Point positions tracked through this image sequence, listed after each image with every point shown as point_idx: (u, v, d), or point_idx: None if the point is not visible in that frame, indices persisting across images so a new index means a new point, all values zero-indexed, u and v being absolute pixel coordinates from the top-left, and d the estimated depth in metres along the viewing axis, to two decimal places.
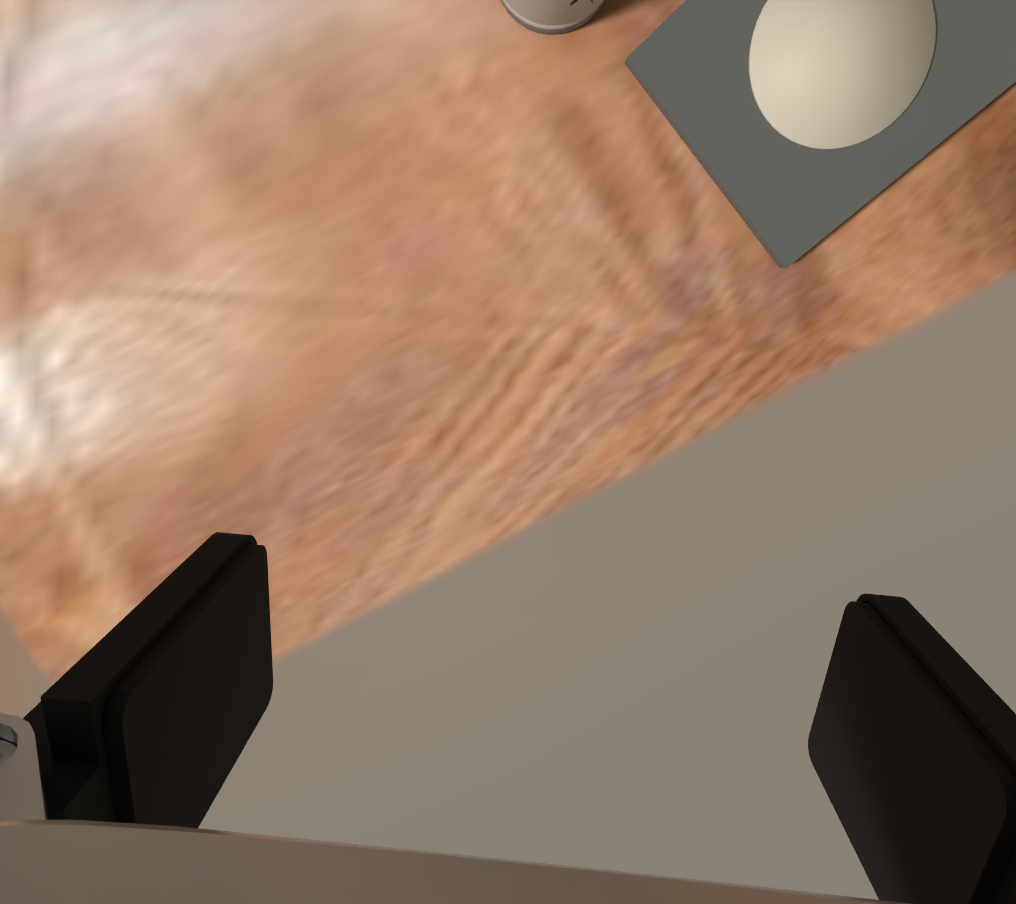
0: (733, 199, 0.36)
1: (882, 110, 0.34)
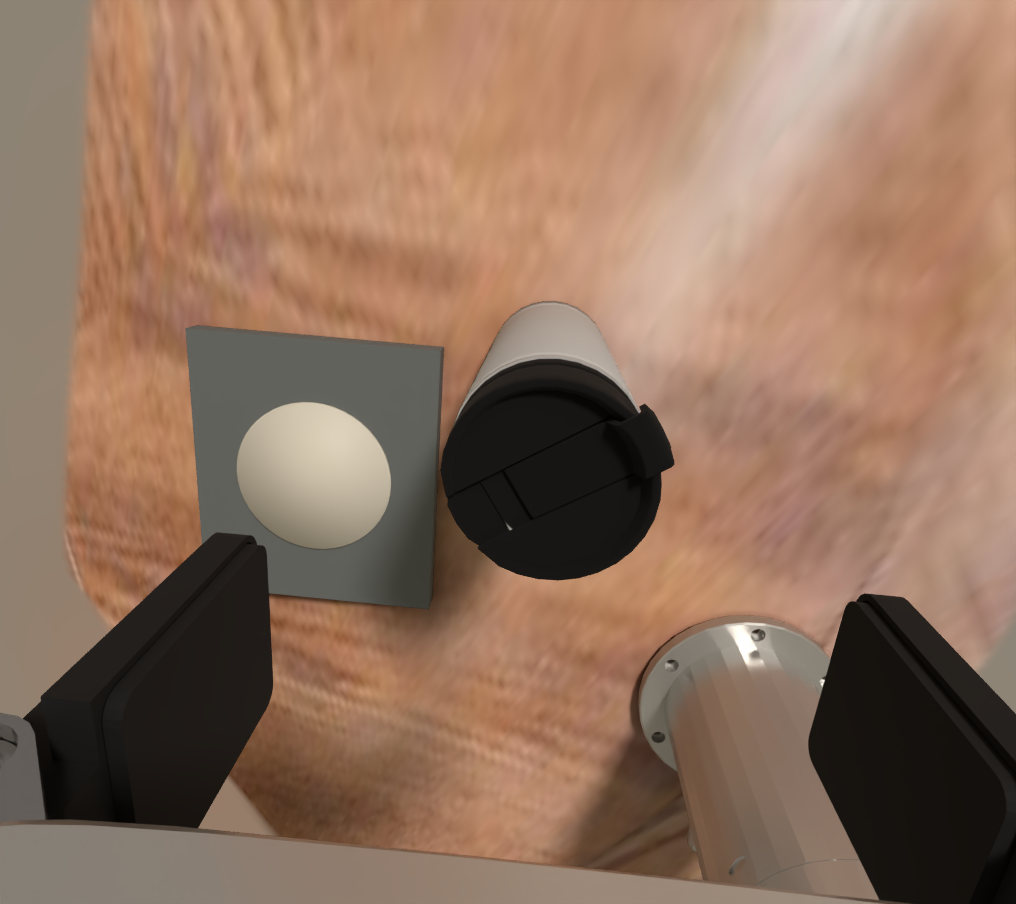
0: (274, 335, 0.36)
1: (252, 472, 0.39)
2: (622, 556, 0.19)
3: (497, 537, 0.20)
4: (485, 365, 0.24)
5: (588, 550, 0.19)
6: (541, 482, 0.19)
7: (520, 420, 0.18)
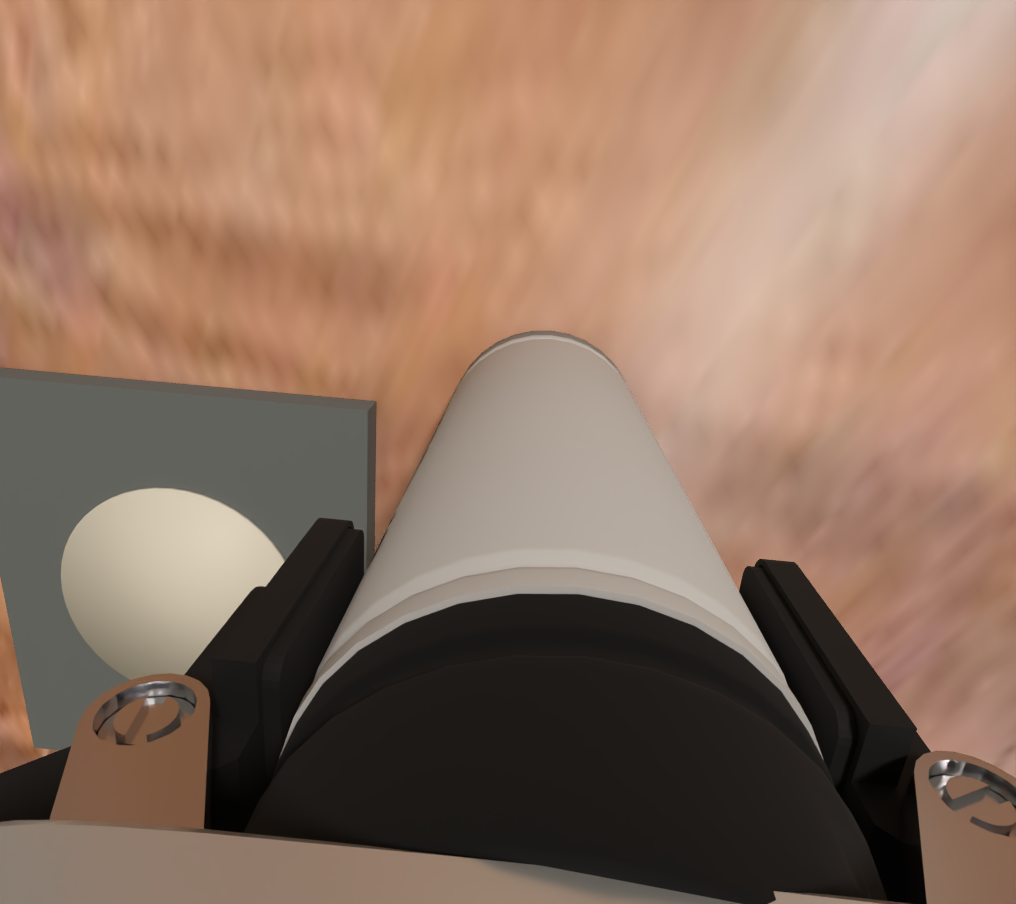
0: (102, 385, 0.23)
1: (86, 590, 0.25)
2: None
3: None
4: (400, 518, 0.11)
5: None
6: None
7: None
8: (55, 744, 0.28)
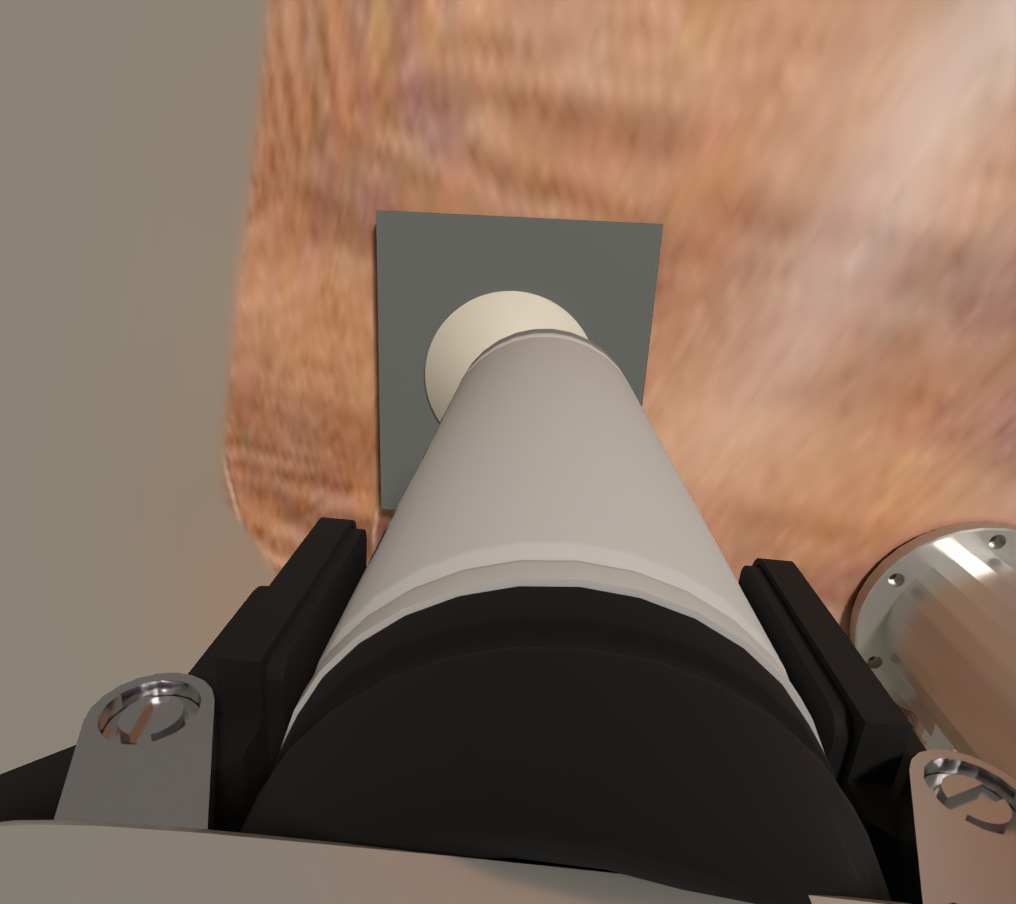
0: (474, 215, 0.33)
1: (440, 376, 0.35)
2: None
3: None
4: (401, 513, 0.11)
5: None
6: None
7: None
8: (397, 505, 0.38)
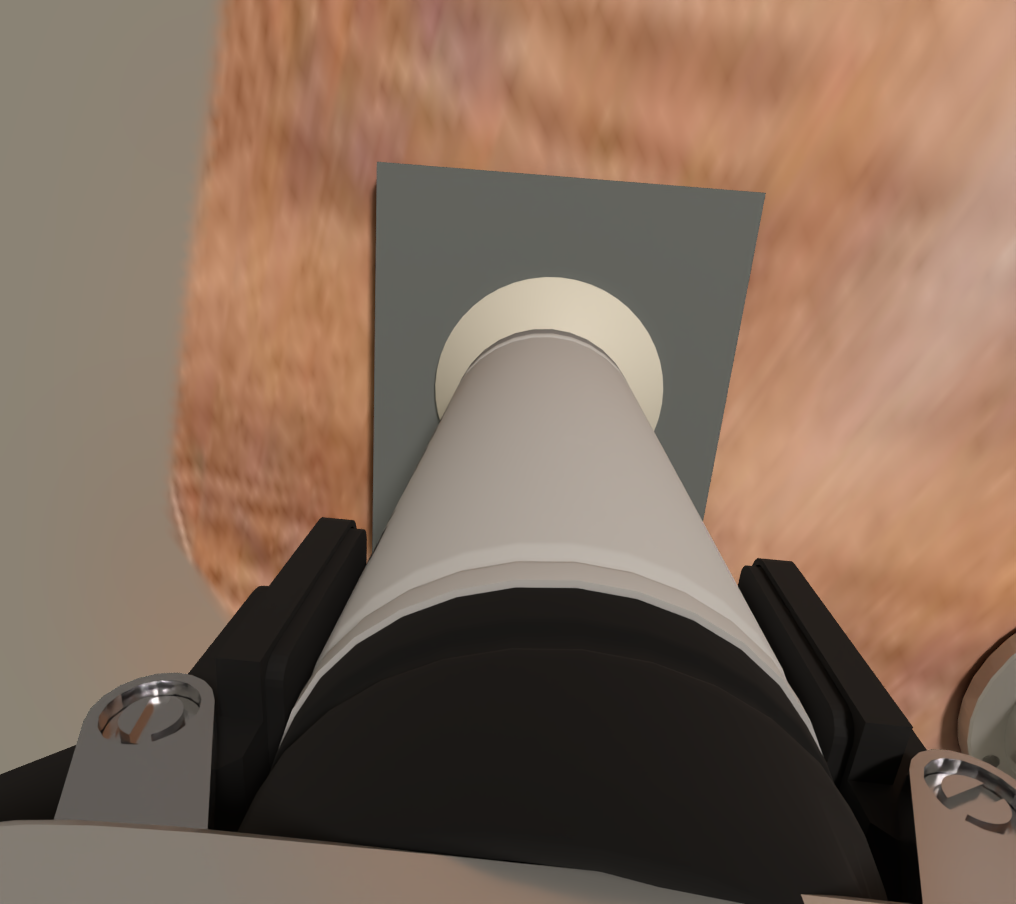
0: None
1: (456, 387, 0.27)
2: None
3: None
4: (399, 514, 0.11)
5: None
6: None
7: None
8: None
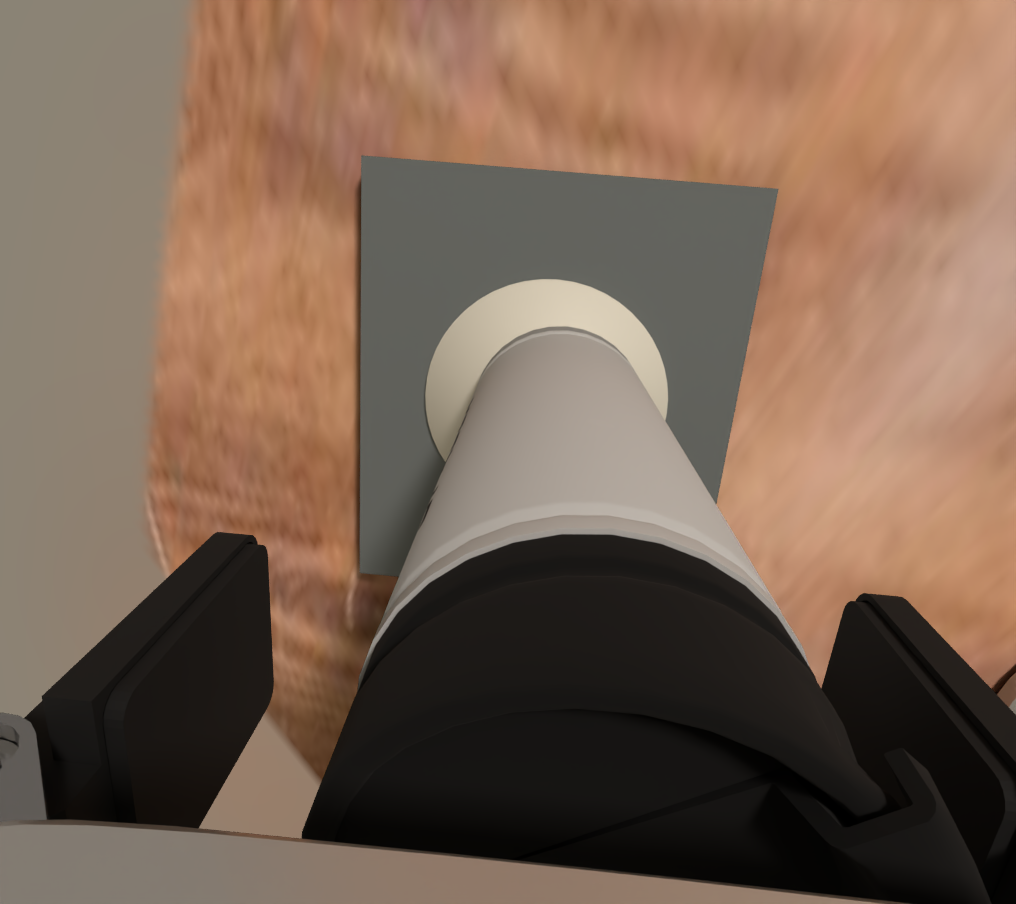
0: (504, 167, 0.23)
1: (447, 396, 0.25)
2: None
3: None
4: (446, 487, 0.12)
5: None
6: None
7: (517, 766, 0.06)
8: (382, 569, 0.28)
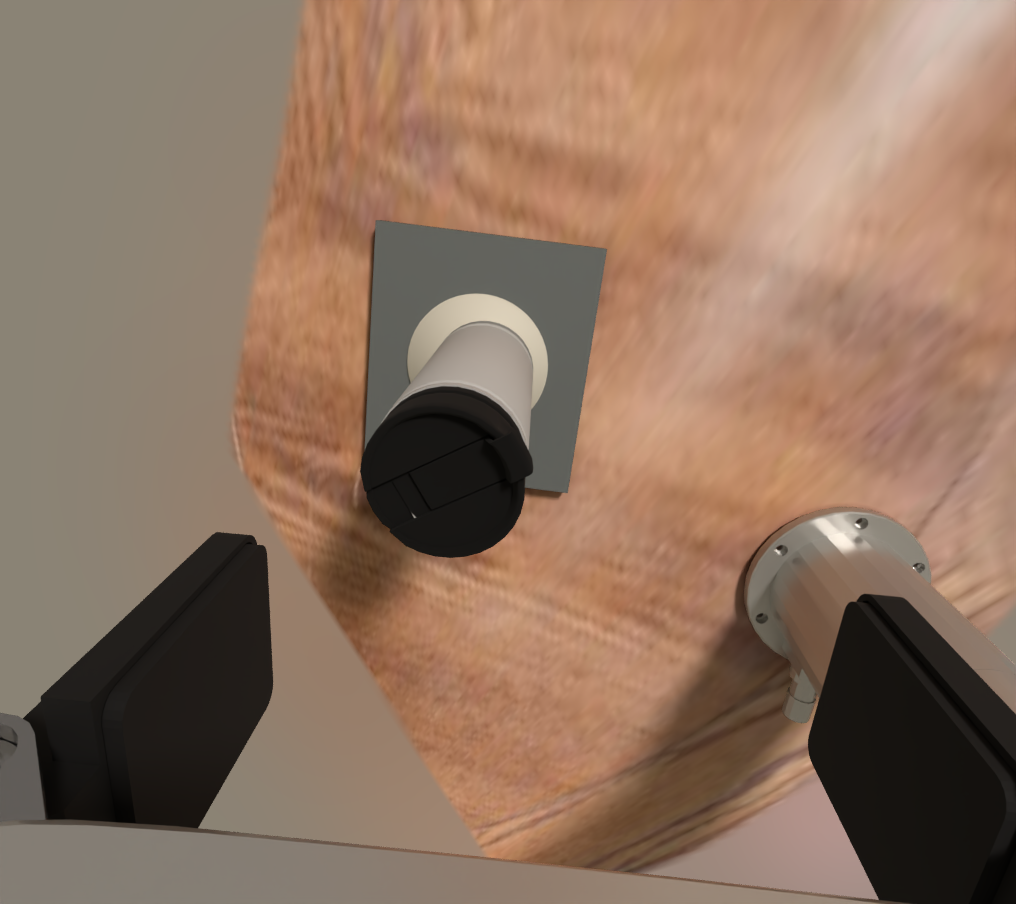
0: (455, 230, 0.40)
1: (420, 359, 0.43)
2: (497, 540, 0.25)
3: (404, 523, 0.26)
4: (410, 384, 0.30)
5: (473, 535, 0.25)
6: (437, 482, 0.25)
7: (420, 435, 0.24)
8: None
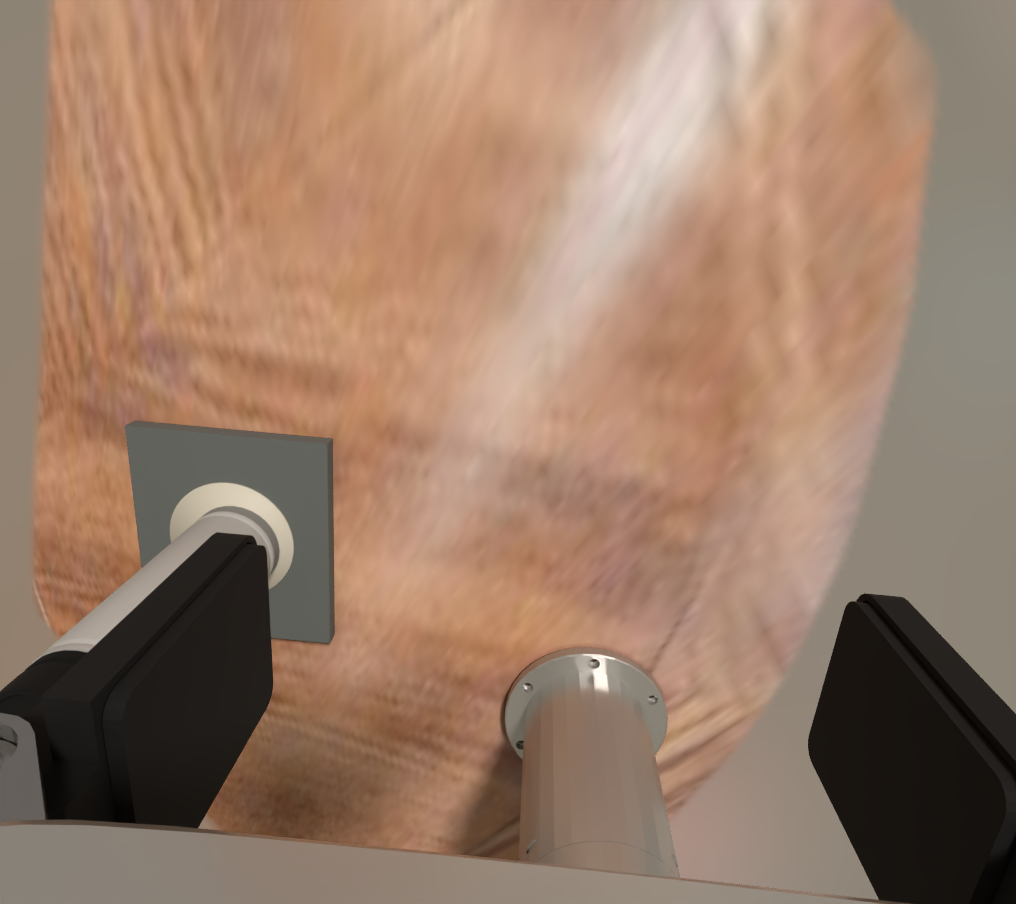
0: (195, 431, 0.46)
1: None
2: None
3: None
4: None
5: None
6: None
7: (24, 706, 0.29)
8: None
